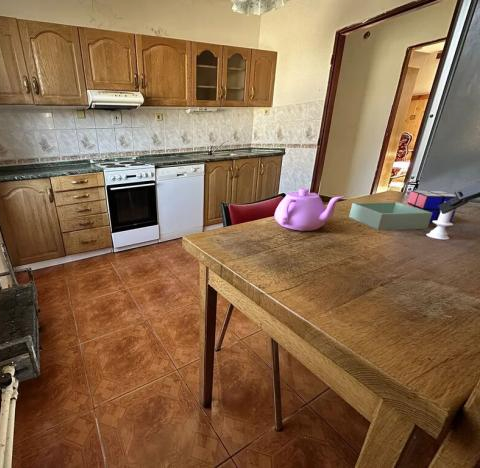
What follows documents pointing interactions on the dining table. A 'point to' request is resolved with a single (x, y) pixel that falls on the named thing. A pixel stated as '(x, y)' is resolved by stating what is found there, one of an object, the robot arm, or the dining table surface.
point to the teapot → (304, 211)
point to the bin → (390, 215)
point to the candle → (441, 226)
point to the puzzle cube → (430, 202)
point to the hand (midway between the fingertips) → (464, 209)
